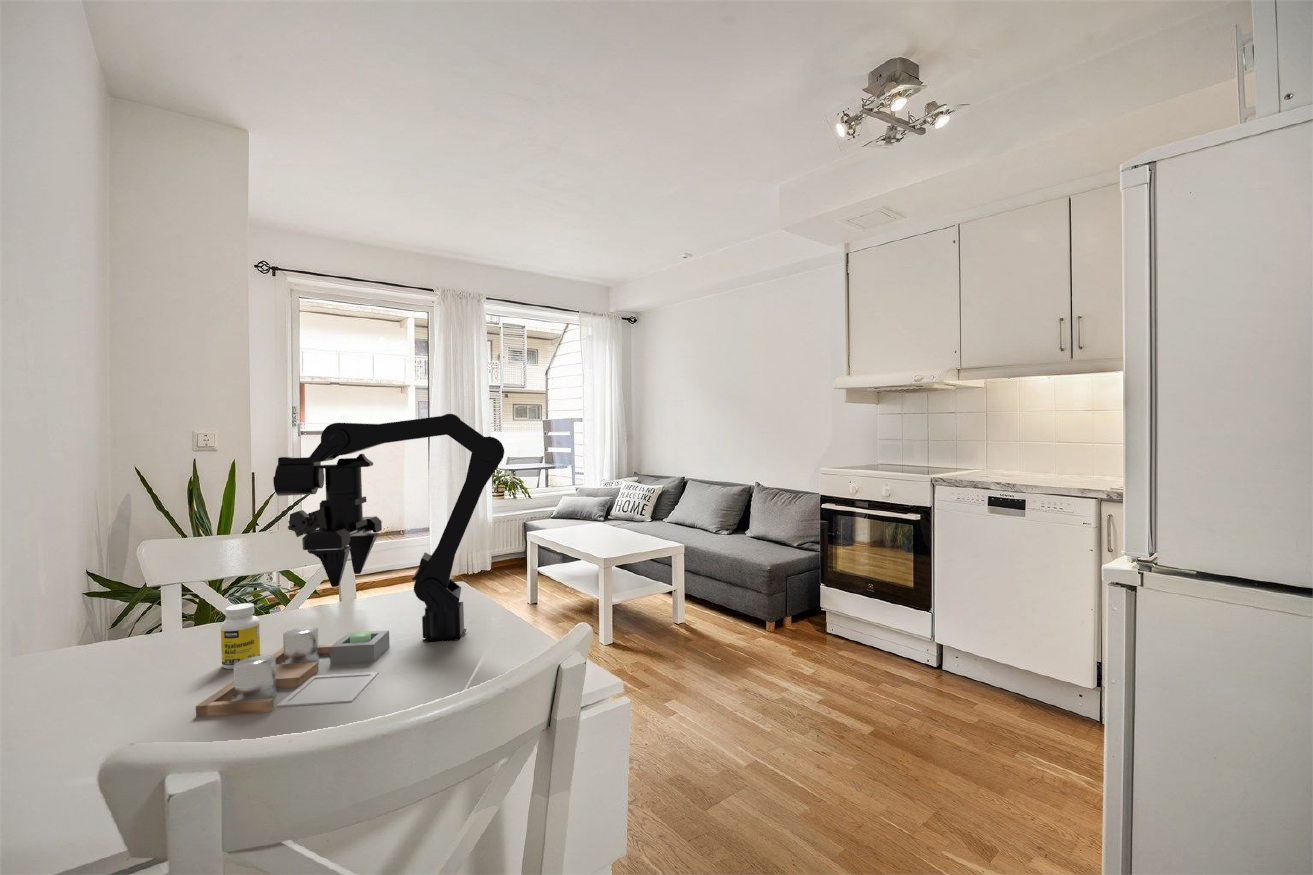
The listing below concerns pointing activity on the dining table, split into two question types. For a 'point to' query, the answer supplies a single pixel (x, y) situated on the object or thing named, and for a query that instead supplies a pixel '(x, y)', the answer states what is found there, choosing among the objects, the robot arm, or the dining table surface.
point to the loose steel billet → (301, 645)
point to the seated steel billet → (255, 678)
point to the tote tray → (329, 689)
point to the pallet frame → (284, 679)
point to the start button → (360, 637)
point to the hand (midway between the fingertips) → (346, 579)
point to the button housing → (359, 649)
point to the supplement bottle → (239, 635)
